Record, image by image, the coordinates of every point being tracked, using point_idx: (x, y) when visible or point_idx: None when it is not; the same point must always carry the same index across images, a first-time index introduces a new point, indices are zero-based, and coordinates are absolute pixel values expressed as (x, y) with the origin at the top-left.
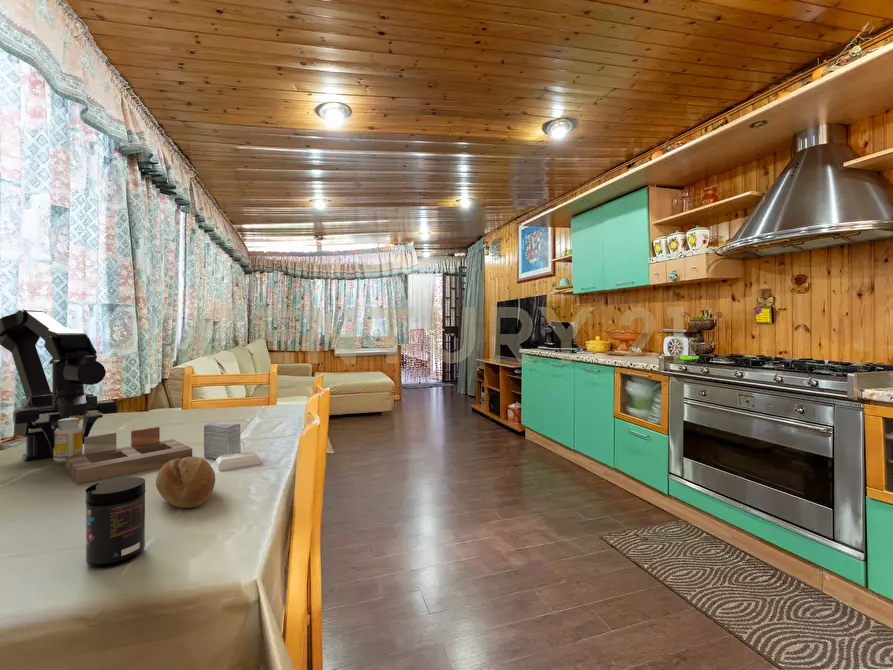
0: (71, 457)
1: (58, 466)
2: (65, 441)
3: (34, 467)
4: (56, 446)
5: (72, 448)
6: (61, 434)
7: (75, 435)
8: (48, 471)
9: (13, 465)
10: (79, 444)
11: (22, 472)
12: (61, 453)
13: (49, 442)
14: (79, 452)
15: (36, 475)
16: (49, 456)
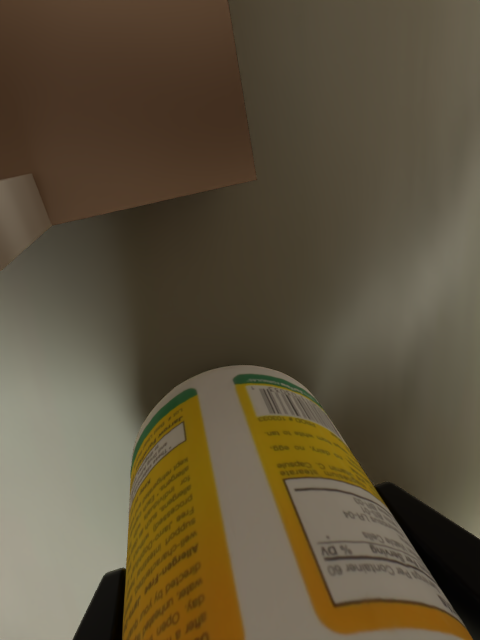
0: (184, 92)
1: (277, 341)
2: (309, 506)
3: (401, 397)
4: (366, 481)
5: (209, 441)
6: (419, 627)
7: (202, 624)
8: (336, 217)
9: (474, 494)
10: (147, 513)
11: (466, 302)
12: (294, 404)
13: (459, 527)
14: (147, 445)
15: (411, 132)
16: None
